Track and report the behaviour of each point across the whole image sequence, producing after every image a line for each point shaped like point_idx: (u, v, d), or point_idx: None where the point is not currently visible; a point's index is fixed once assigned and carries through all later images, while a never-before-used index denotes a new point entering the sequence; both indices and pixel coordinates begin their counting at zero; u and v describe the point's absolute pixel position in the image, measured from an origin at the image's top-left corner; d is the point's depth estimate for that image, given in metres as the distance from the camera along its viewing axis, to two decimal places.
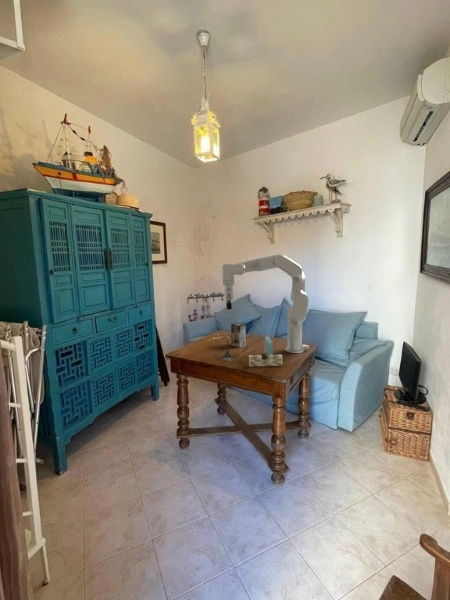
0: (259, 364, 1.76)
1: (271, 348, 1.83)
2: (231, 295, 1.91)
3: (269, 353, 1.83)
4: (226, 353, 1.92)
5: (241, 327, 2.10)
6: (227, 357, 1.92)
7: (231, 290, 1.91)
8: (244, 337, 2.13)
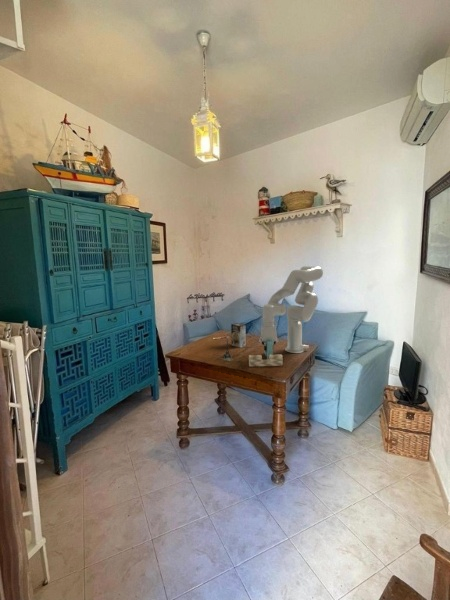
0: (259, 364, 1.76)
1: (271, 348, 1.82)
2: None
3: (269, 353, 1.83)
4: (226, 353, 1.91)
5: (241, 327, 2.10)
6: (227, 357, 1.91)
7: None
8: (244, 337, 2.13)
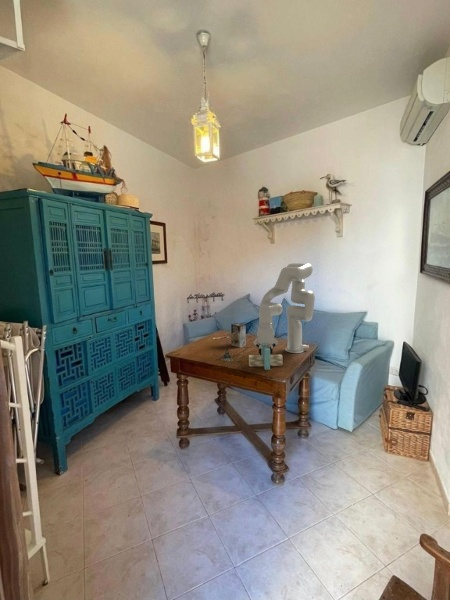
0: (259, 364, 1.76)
1: (268, 355, 1.70)
2: None
3: (266, 361, 1.70)
4: (225, 354, 1.91)
5: (241, 327, 2.10)
6: (227, 358, 1.91)
7: None
8: (244, 337, 2.13)
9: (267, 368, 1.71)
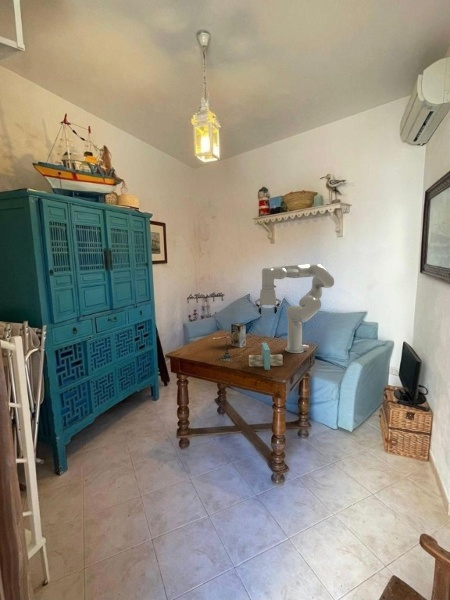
0: (259, 364, 1.76)
1: (268, 355, 1.70)
2: None
3: (266, 361, 1.70)
4: (225, 354, 1.90)
5: (241, 327, 2.10)
6: (226, 358, 1.90)
7: None
8: (244, 337, 2.13)
9: (267, 368, 1.71)
